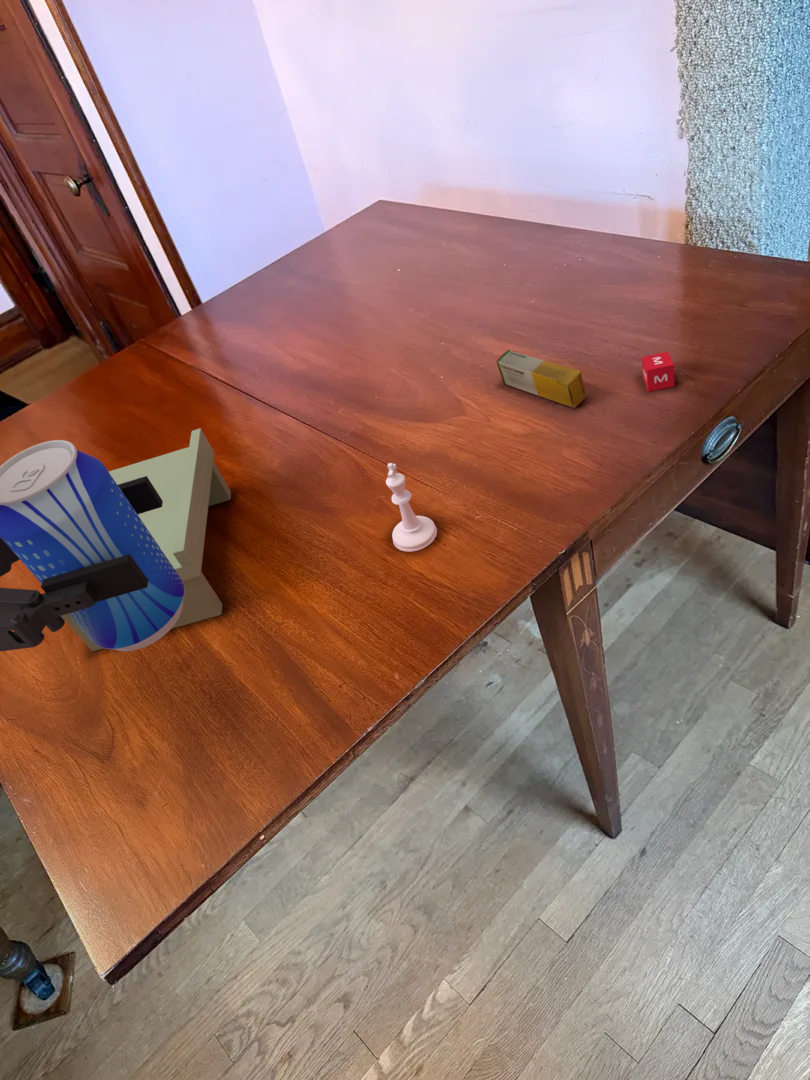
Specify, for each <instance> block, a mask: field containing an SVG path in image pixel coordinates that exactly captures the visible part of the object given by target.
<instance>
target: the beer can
mask: <svg viewBox="0 0 810 1080" xmlns="http://www.w3.org/2000/svg"><path fill="white" fill-rule="evenodd" d="M0 537H1V538H2V539H3V540H4V542H5V543H6V544H7V545H8V546H9V547H10V548H11V550H12V551H13V552H14V553H15V554H16V555H17V556H18V558H19V559H20V560H19V561H21V562H22V563H23V564H24V566H25V567H26V568H27V569H28V570H29V571H30V573H31V574H32V575H33V576H34V577H35V579H37V581H38V582H39V583H40V584H41V585H42V582H43V579H47V578H50V577H53V576H57V575H60V574H64V573H68V572H71V571H74V570H77V569H81V568H84V567H87V566H91V565H94V564H98V563H101V562H104V561H108V560H111V559H115V558H118V557H121V556H125V555H128V554H130V555H131V557H132V558H133V559H134V561H135V562H136V563H137V565H138V566H139V568H140V569H141V570H142V572H143V573H144V574H145V576H146V577H147V579H148V580H149V581H148V586H147V588H144V589H140V590H137V591H133V592H130V593H126V594H123V595H120V596H116V597H113V598H109V599H106V600H102V601H99V602H96V604H95V605H93V606H91V607H89V608H86V609H83V610H79V611H75V612H73V613H69V614H68V615H69V616H70V617H71V618H72V619H73V621H74V622H75V623H76V624H77V625H78V626H79V627H80V629H81V630H82V631H83V632H84V633H85V634H86V635H87V637H88V638H89V639H90V640H91V641H92V642H93V643H94V644H95V645H97V646H99V647H101V648H103V649H106V650H115V651H119V652H132V651H137V650H141V649H143V648H147V647H148V646H150V645H152V644H154V643H156V642H157V641H159V640H161V638H163V637H164V636H165V635H166V634H168V632H170V630H172V629H171V628H172V627H173V626H174V625H175V623H176V622H177V620H178V618H179V616H180V614H181V612H182V608H183V599H184V593H185V589H184V583H183V581H182V579H181V578H180V576H179V575H178V573H177V572H176V570H175V569H174V567H173V566H172V564H171V563H170V561H169V560H168V558H167V557H166V556H165V554H164V553H163V551H162V550H161V548H160V547H159V545H158V544H157V542H156V541H155V539H154V538H153V536H152V535H151V533H150V532H149V531H148V529H147V528H146V526H145V525H144V523H143V522H142V520H141V519H140V517H139V516H138V514H137V513H136V511H135V510H134V509H133V507H132V506H131V504H130V503H129V501H128V500H127V498H126V497H125V495H124V494H123V492H122V491H121V489H120V488H119V486H118V485H117V484H116V482H115V481H114V479H113V478H112V476H111V475H110V473H109V470H108V469H107V467H106V466H105V464H104V463H103V462H102V461H100V460H99V459H98V458H97V457H95V456H92V455H90V454H87V453H85V452H83V451H80V450H78V449H77V448H76V446H75V445H74V444H73V442H70V441H68V440H65V439H64V440H63V439H53V440H47V441H44V442H43V441H42V442H40V443H37V444H34V445H32V446H30V447H28V448H25V449H24V450H21V451H19V452H18V453H16V454H15V455H12V457H10V458H9V459H7V460H6V461H4V462H3V463H2V464H1V465H0Z"/></svg>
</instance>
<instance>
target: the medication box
mask: <svg viewBox="0 0 810 1080" xmlns="http://www.w3.org/2000/svg"><path fill="white" fill-rule="evenodd" d="M496 364H497V368H498V370H499V374H500V376H501V379H502V382H503V385H504V386H506V385H507V386H510V387H511V388H512V387H513V388H516V389H518V390H521V391H524V392H527V393H530V394H533V395H535V396H538V397H541V398H544V399H547V400H550V401H553V402H555V403H558V404H562V405H564V406H567V407H570V408H573V409H575V408H577V407H578V406H579V405H580V404H581V403H582V402H583V401H584V400H585V398H587V396H588V394H587V391H586V387H585V383H584V379H583V376H582V371H581V370H578V369H574V368H571V367H568V366H565V365H561V364H559V363H558V364H557V363H555V362H550V361H548V360H545V359H540V358H537V357H534V356H530V355H527V354H523V353H521V352H517V351H513V350H511V349H508V350H506V351H505V352H504V353H503V354H501V355H500V356H499V358H498V359H497V360H496Z"/></svg>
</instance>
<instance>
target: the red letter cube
mask: <svg viewBox="0 0 810 1080" xmlns="http://www.w3.org/2000/svg"><path fill="white" fill-rule="evenodd" d="M641 367H642V379H643V383H644V384H645V387H646V389H647V392H654V391H660V390H663V389H668V388H673V387H674V388H675V363H674V361H673V359H672V357H671V355H670V353H669V351H663V352H659V353H655V354H649V355H644V356H641Z"/></svg>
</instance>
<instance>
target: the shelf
mask: <svg viewBox="0 0 810 1080" xmlns="http://www.w3.org/2000/svg"><path fill="white" fill-rule="evenodd" d="M214 457H215V451H214V450H213V448H212V446H211V444H210V442H209V440H208V439H207V437H206V435H205V433H204V432H203V429H202V428H200V427H199V428H197V429H196V428H195V429H194V430H193V429H192V430H191V434H190V439H189V446H188V447H184V448H180V449H177V450H175V451H171V452H168V453H165V454H161V455H158V456H155V457H152V458H148V459H145V460H141V461H139V462H136V463H132V464H129V465H126V466H123V467H119V468H116V469H112V470H108V472H109V473H110V475H111V476H112V478H113V479H114V481H115V482H116V484H117V485H118V484H122V483H125V482H128V481H132V480H135V479H138V478H141V477H145V476H147V477H148V479H149V480H150V482H151V483H152V485H153V487H154V488H155V490H156V491H157V493H158V494H159V496H160V498H161V499H162V501H163V504H162V507H161V508H157V509H154V510H151V511H147V512H144V513H141V514H138V516H139V517H140V519H141V520H142V522H143V523H144V525H145V526H146V528H147V529H148V531H149V532H150V533H151V535H152V536H153V538H154V539H155V541H156V542H157V544H158V545H159V547H160V548H161V550H162V551H163V553H164V554H165V556H166V557H167V558H168V560H169V561H170V563H171V564H172V566H173V567H174V569H175V570H176V572H177V573H178V575H179V576H180V578H181V579H182V581H183V583H184V589H185V593H184V599H183V608H182V612H181V614H180V616H179V618H178V620H177V622H176V623H175V625H174V626H173V627H172V628H171V629H170V630H172V629H173V630H174V629H176V628H179V627H183V626H187V625H190V624H193V623H197V622H201V621H204V620H208V619H212V618H215V617H219V616H222V614H223V603H222V601H221V600H220V598H219V596H218V595H217V593H216V592H215V590H214V589H213V587H212V586H211V584H210V583H209V581H208V580H207V578H206V576H205V575H204V573H203V572H202V566H203V556H204V549H205V548H204V547H205V541H206V540H205V539H206V530H207V521H208V513H209V507H212V506H215V505H218V504H221V503H224V502H228V501H231V499H232V498H231V497H232V492H231V489H230V488H229V486H228V484H227V482H226V481H225V478H224V477H223V475H222V473H221V471H220V469H219V468H218V466H217V464H216V462H215V460H214V459H215V458H214ZM61 617H62V618H63V619H64V621H65V623H66V624H67V625H68V626H69V627H70V629H72V630H73V632H74V633H75V634H76V635H77V636H78V637H79V639H81V641H82V642H83V643H84V644H85V645H86V646H87V647H88V648H89V649H90V651H91V652H95V651H99V650H103V649H104V648H101V647H99V646H97V645H95V644H94V643H93V642H92V641H91V640H90V639H89V638H88V637H87V635H86V634H85V633H84V632H83V631H82V630H81V629H80V627H79V626H78V625H77V624H76V623H75V622H74V621H73V619H72V618H71V617H70V616H69V615H68V614H66V615H62V616H61Z"/></svg>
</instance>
